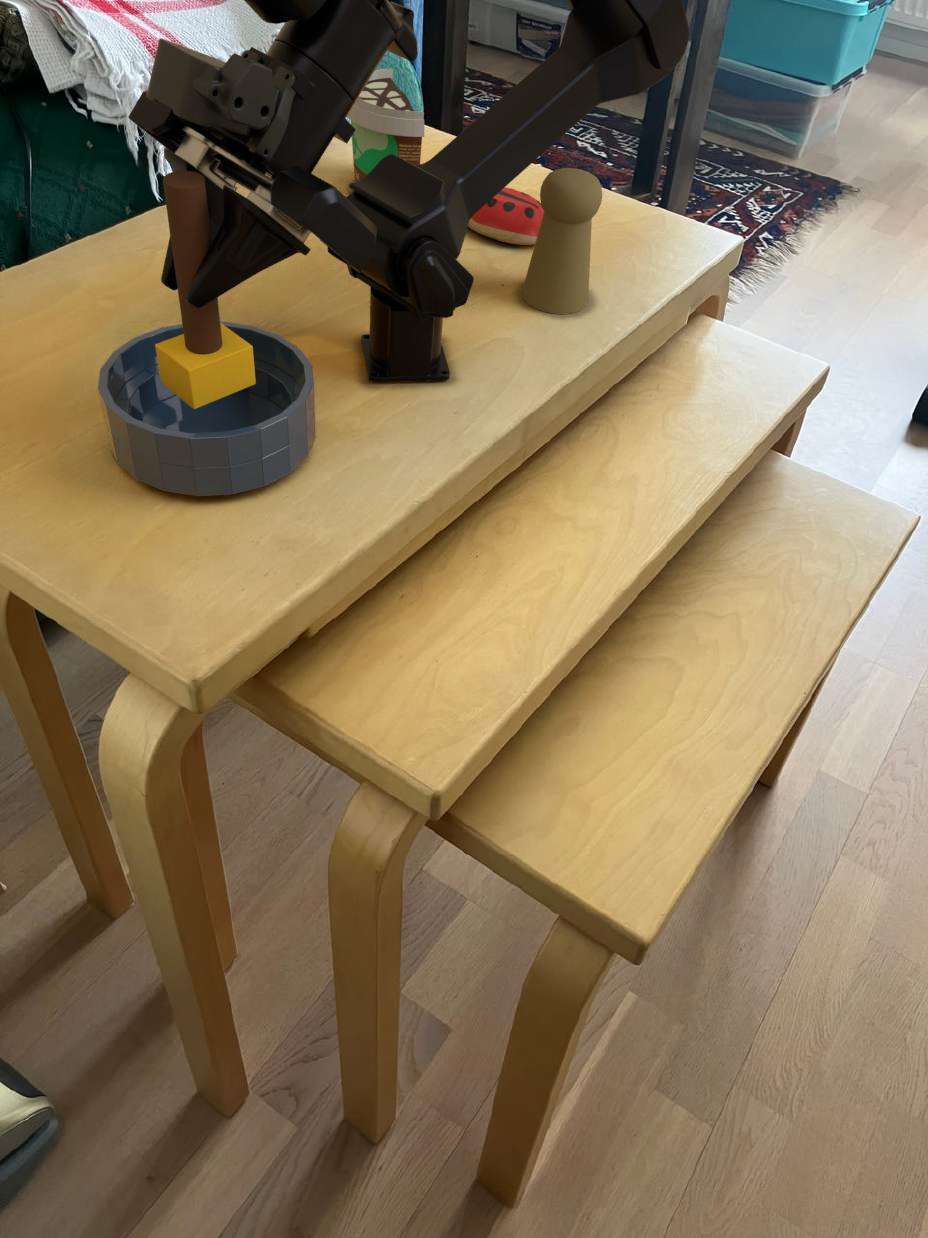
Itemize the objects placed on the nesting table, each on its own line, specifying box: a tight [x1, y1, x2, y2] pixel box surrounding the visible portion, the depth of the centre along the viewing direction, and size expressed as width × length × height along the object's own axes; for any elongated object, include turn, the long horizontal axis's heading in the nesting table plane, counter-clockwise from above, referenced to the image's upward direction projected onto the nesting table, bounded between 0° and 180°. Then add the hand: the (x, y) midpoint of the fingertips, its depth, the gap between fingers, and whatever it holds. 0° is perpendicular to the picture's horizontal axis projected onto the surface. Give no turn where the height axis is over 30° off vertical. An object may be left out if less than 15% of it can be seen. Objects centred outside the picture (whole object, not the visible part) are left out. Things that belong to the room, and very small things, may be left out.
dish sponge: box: [155, 171, 256, 409], centre depth 65 cm, size 5×4×14 cm
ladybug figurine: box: [467, 186, 544, 246], centre depth 99 cm, size 7×10×4 cm
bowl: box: [97, 321, 317, 497], centre depth 71 cm, size 14×14×6 cm
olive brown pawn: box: [521, 167, 603, 315], centre depth 88 cm, size 6×6×11 cm
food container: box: [346, 68, 425, 182], centre depth 100 cm, size 12×6×10 cm, turn 17°
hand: (179, 295), depth 64 cm, fingers closed on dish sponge, 2 cm apart
